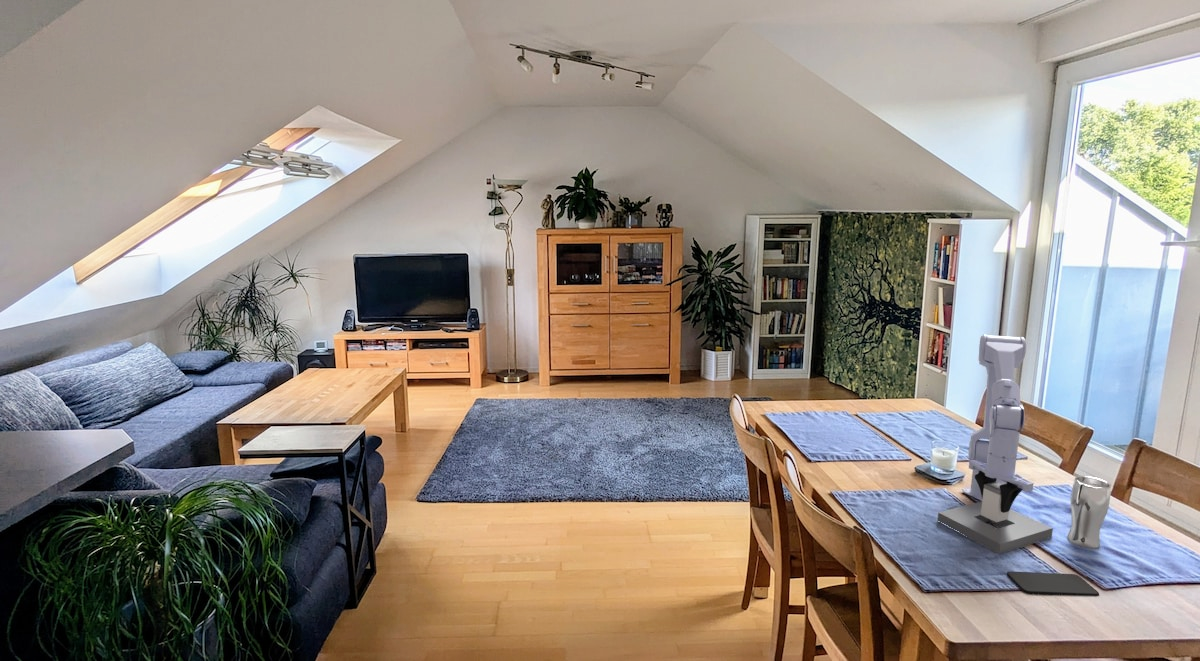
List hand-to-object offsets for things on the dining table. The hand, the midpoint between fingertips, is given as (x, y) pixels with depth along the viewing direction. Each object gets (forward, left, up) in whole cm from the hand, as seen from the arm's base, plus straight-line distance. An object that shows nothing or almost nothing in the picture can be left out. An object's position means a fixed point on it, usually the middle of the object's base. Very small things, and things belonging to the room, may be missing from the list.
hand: (995, 507), depth 149 cm
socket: (0, 0, -6) cm, 6 cm away
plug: (0, 0, -2) cm, 3 cm away
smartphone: (+10, +20, -6) cm, 23 cm away
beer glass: (-14, +12, -6) cm, 19 cm away
